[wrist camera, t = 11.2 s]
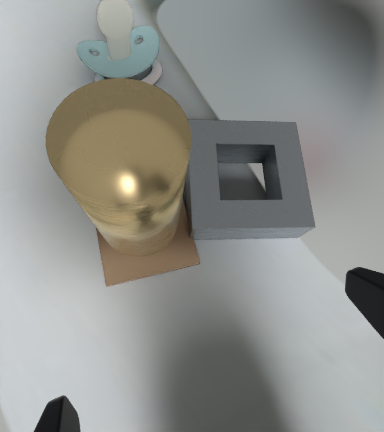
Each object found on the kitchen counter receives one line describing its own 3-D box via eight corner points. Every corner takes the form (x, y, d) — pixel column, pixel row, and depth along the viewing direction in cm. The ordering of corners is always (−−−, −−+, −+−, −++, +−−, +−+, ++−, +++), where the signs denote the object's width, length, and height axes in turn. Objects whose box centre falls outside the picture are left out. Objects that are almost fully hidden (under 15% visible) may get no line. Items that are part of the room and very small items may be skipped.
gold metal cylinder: (189, 239, 23) (219, 157, 11) (130, 278, 22) (91, 230, 10) (153, 187, 24) (144, 59, 12) (94, 220, 23) (20, 114, 11)
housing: (297, 237, 25) (315, 227, 22) (188, 239, 24) (192, 229, 21) (282, 142, 28) (296, 122, 25) (184, 140, 27) (187, 119, 24)
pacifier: (174, 85, 29) (148, 38, 30) (179, 27, 23) (147, -28, 24) (100, 108, 27) (76, 58, 28) (85, 52, 21) (56, -9, 23)
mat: (199, 263, 23) (200, 262, 23) (107, 286, 22) (106, 285, 22) (177, 182, 25) (177, 180, 25) (92, 199, 24) (90, 197, 24)
